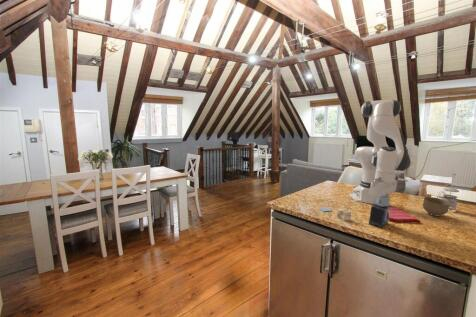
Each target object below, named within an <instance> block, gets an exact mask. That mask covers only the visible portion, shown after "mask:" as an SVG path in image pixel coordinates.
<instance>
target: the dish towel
mask: <svg viewBox="0 0 476 317" xmlns="http://www.w3.org/2000/svg"><path fill="white" fill-rule="evenodd" d="M373 205H374V204H371V206H373ZM392 221H403V222H402V223H408V222H420V223H421V220H420V219H417V218H416V217H414V216H412V215H410V214H409V213H406V212H405V211H404V210H401V209H400V208H399V207H396V206H390V211H389V218H388V222H392Z"/></svg>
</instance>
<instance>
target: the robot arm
mask: <svg viewBox="0 0 476 317" xmlns="http://www.w3.org/2000/svg"><path fill="white" fill-rule="evenodd" d="M360 107H361V108H360V111H361V112H360V113H361V116H362V117H363V118H368V122H367V128H366V129H367V131H366V139H367V140H368V142H370V143H372V144H373V146H359V147H357V148H355V151H354V157H355V159H356V160H357V161H358V162H359V164H360V166H361V169H362V178H361V179H362V180H360V182H359V183H360V184H358V185H357V186H356V187H354V188H353V190H352V193H351V192H350V193H349V194H348V196H349V197H351V198H352V199H353V200H354V201H356V202H360V203H364V204H365V203H366V204H369V205H370V204H371V205H375V204H374V197H375V199H376V203H380V198H379V197H380V195H385V196H388V197H390V194H393V193H395V192H396V191H397V186H398V181H399V178H400V177H399V176H398V175H396V171H399V172H404V171H406V170H408V169H409V168H410V166H411V156H410V155H409V152H408V150H407V146H406V145H407V144H406V141H405V137H404V134H403V131H402V128H400V126H398V125H397V124H396V123H395V117H397V116H398V115H399V114H400V112H401V110H402V109H401V108H402V105H401V102H400V101H398V100H396V99H392V100H388V99H381V100H367V101H365V102H363V103H362V106H360ZM386 137H387V138H389V139H390V140H392V141H393V142H394V145H395V147H392V146H389V145H388V143H387V139H386Z"/></svg>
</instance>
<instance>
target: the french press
mask: <svg viewBox="0 0 476 317" xmlns="http://www.w3.org/2000/svg"><path fill="white" fill-rule="evenodd" d="M451 175H452V178H455V177H454V176H456V173H455V172H453V173H451ZM453 182H454V180H452V182H451V184H453ZM443 190H444V191H442V190H441V191H440V192H439V193H438V194H437V197H436V198H439V199H442V200H445V201H447V202H449V203H450V205H449V207H452V208H448V209H449V210H455V209H456V210H457V203H458V196H456V195H453V194H451V193H459V192H460V190H458V189H457V188H454V187H453V185H451V187H449V186H448V187H444V188H443ZM446 192H450V193H449V194H447V193H446ZM445 193H446V194H445ZM441 194H442V196H441ZM440 196H441V198H440ZM453 208H454V209H453Z"/></svg>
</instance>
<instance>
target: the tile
mask: <svg viewBox="0 0 476 317" xmlns="http://www.w3.org/2000/svg"><path fill="white" fill-rule="evenodd" d="M317 209H319V210H320V211H321V212H322V213H324V212H325V213H327V212H328V213H330V212H331V213H332V212H333V210H332V209H330V208H329V207H327V206H325V207H322V206H319V207H317Z"/></svg>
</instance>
